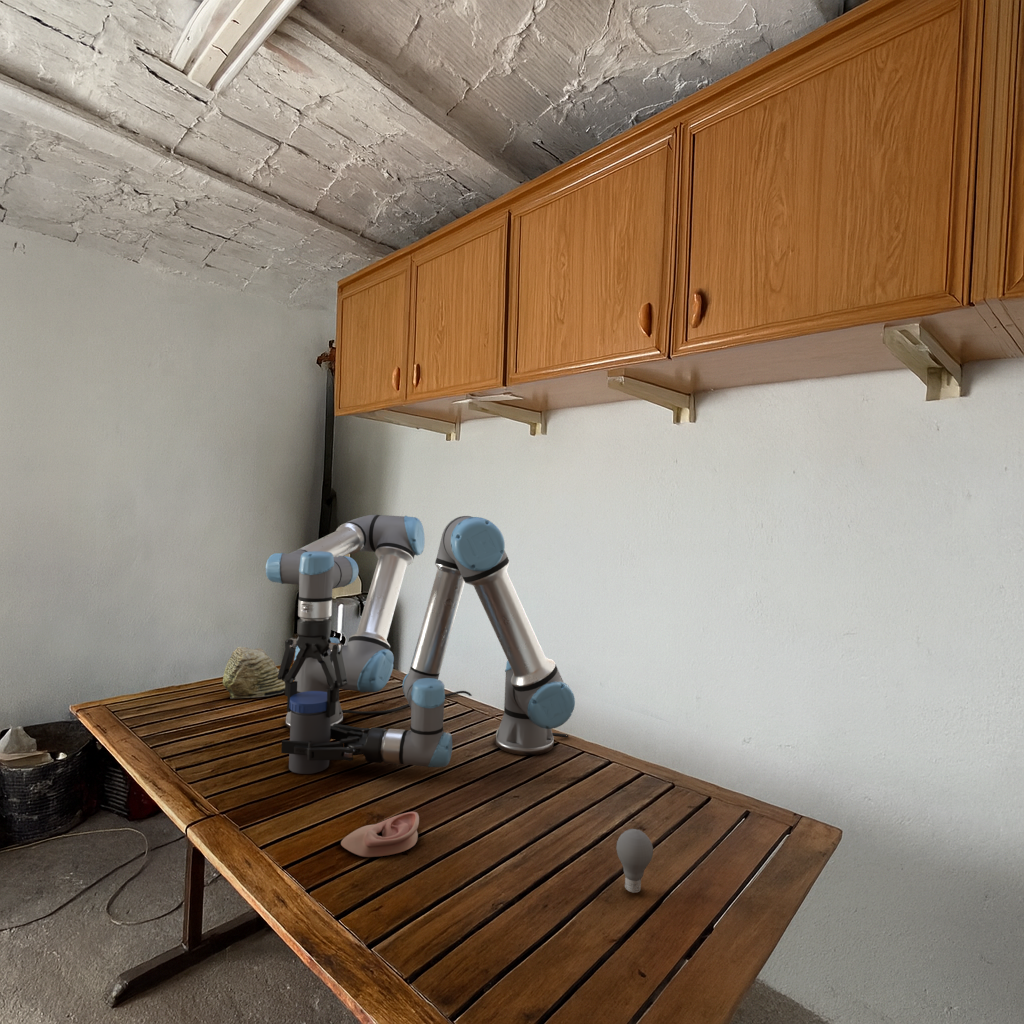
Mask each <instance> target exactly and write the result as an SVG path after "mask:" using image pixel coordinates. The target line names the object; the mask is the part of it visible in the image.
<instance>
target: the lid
mask: <svg viewBox="0 0 1024 1024" xmlns="http://www.w3.org/2000/svg"><path fill="white" fill-rule="evenodd" d="M289 708H290V709H291V710H292V711H294V712H298V713H318V712H323V711H326V710H327V692H322V691H307V692H301V693H297V694H295V695H293V696H291V697H290V701H289Z"/></svg>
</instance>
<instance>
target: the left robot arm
mask: <svg viewBox="0 0 1024 1024" xmlns="http://www.w3.org/2000/svg"><path fill="white" fill-rule="evenodd" d="M425 537H426V536H425V530H424V526H423V523H422V521H421V520H420V519H419V518H418V517H416V516H407V515H404V516H403V515H389V514H388V515H386V514H383V515H382V514H368V515H364V516H360V517H357V518H354V519H351V520H348V521H346V522H344V523H342V524H341V525H338V527H337V528H336V530H335V531H334V532H331V533H329V534H327V535H325V536H323V537H321V538H319V539H317V540H314V541H313V542H310V543H309V544H306V545H305V546H302V547H300V548H298V549H296V550H294V551H292V552H290V553H285V552H280V553H279V552H278V553H273V554H271V555H269V557H268V558H267V560H266V564H265V575H266V577H267V579H268V580H269V581H270V582H272V583H278V584H281V585H284V584H285V585H298V603H297V604H298V605H297V607H298V608H297V616H298V618H299V619H297V627H296V628H297V629H296V630H297V631H296V632H297V633H296V634H297V638H296V637H290V638H287V639H285V641H284V648H285V649H284V651H283V655H282V660H281V663H280V666H279V673H278V679H279V680H283V681H284V682H285V691H284V696H285V697H287V699H286V701H287V702H286V712H287V713H286V715H285V726H286V728H287V729H289V730H290V721H291V709H290V708H289V701H290V697H291V696H293V695H295V694H297V693H301V692H307V691H322V692H327V712H326V717H328V718H330V717H331V726H333V724H341V725H342V723H343V722H344V714H353V715H381V714H387V713H388V714H389V713H394V712H397V711H400V710H403V709H406V708H408V707H409V708H410V706H409V703H407V704H404V705H402V706H401V705H400V706H399V707H396V708H392V709H384V710H373V711H372V710H371V711H365V710H363V711H361V710H360V711H358V710H349V709H342V706H341V702H340V690H344V691H345V690H346V691H354V692H359V693H378V692H380V691H381V690H382V689H384V688H385V686H386V685H387V684H388V683H389V681H390V678H391V677H392V676H391V675H392V673H393V671H394V662H395V657H394V654H393V651H391V645H390V643H389V642H388V640H387V639H388V637H389V633H390V630H391V629H390V628H391V625H392V621H393V618H394V613H395V610H396V607H397V602H398V600H399V599H398V598H399V597H400V591H401V589H402V585H403V581H404V577H405V573H406V569H407V567H408V566H411V565H412V564H413V563H414V559H415V556H417V557H419V556H421V555H422V553H423V552H424V549H425V543H426V540H425ZM360 552H369V553H370V552H371V553H374V554H375V556H376V558H377V562H376V566H375V570H374V573H373V576H372V579H371V584H370V586H369V589H368V594H367V596H366V600H365V603H364V607H363V610H362V613H361V617H360V620H359V624H358V626H357V630H356V633H354V634H352V635H350V636H349V638H348V641H347V644H346V645H344V644H343V643H342V642H341V641H340V639H339V638H338V637H334V636H333V637H331V634H332V619H331V617H332V615H333V614H332V613H333V589H338V588H345V587H347V586H349V585H351V584H353V583H354V582H355V581H356V580H357V578H358V576H359V566H358V563H357V561H356V560H355V559H354V558H352V557H350V556H348V555H355V554H357V553H360ZM292 663H293V664H292ZM458 694H466V695H467V696H469V697H472V696H473V694H472V693H471V692H469V691H466V690H458V691H453V692H450V693H445V697H452V696H454V695H458Z"/></svg>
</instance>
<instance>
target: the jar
mask: <svg viewBox="0 0 1024 1024" xmlns="http://www.w3.org/2000/svg"><path fill="white" fill-rule="evenodd" d="M326 712H327V710H326V711H323V712H318V713H298V712H294V711H292V710H291V721H290V729H289V741H302V742H309V741H311V742H312V744H319V743H329V742H331V740H330V729H331V717H330V718H328V717H326ZM288 755H289V756H288V769H289V771H291V772H292V773H295V774H301V775H311V774H316V773H321V772H322V771H323V772H324V771H325V770H326V769H328V768H329V766H330V760H308V755H299V754H288Z"/></svg>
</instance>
